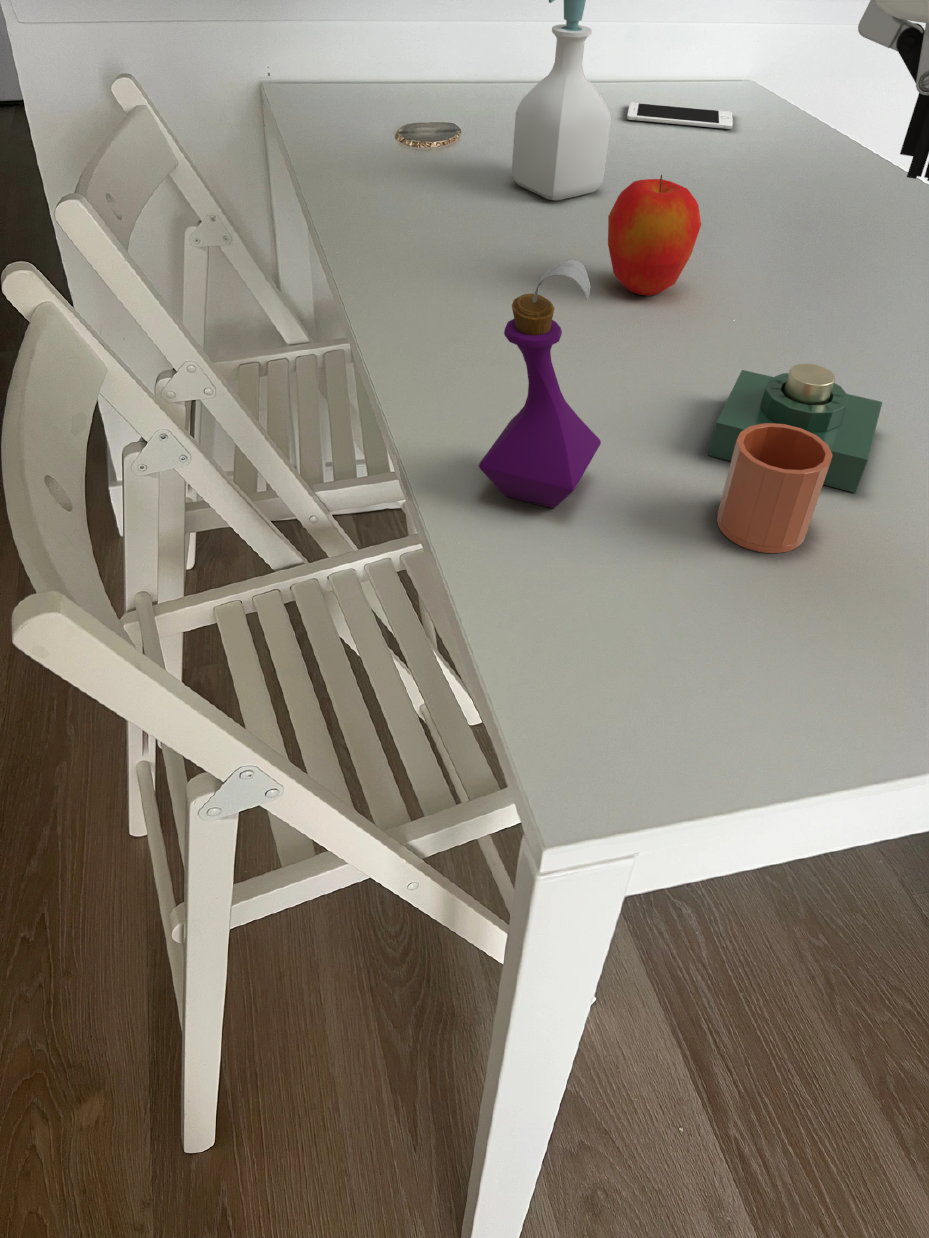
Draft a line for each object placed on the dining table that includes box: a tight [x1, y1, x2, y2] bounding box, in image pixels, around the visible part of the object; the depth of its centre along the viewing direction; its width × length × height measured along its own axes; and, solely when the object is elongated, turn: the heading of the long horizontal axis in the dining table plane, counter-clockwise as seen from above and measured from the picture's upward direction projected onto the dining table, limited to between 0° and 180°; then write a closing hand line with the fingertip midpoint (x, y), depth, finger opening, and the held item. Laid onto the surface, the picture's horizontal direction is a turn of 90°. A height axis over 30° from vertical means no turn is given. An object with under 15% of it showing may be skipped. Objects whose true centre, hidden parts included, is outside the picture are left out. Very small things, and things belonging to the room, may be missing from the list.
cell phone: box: [626, 101, 734, 130], centre depth 154 cm, size 8×16×1 cm, turn 80°
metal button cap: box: [783, 363, 836, 405], centre depth 80 cm, size 4×4×2 cm
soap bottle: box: [511, 0, 612, 201], centre depth 121 cm, size 10×10×23 cm
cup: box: [716, 423, 832, 554], centre depth 73 cm, size 7×7×7 cm
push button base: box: [708, 369, 883, 494], centre depth 82 cm, size 12×10×5 cm
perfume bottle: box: [478, 259, 602, 509], centre depth 71 cm, size 8×8×18 cm
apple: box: [607, 174, 702, 297], centre depth 102 cm, size 9×9×12 cm
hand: (923, 172), depth 54 cm, fingers closed
